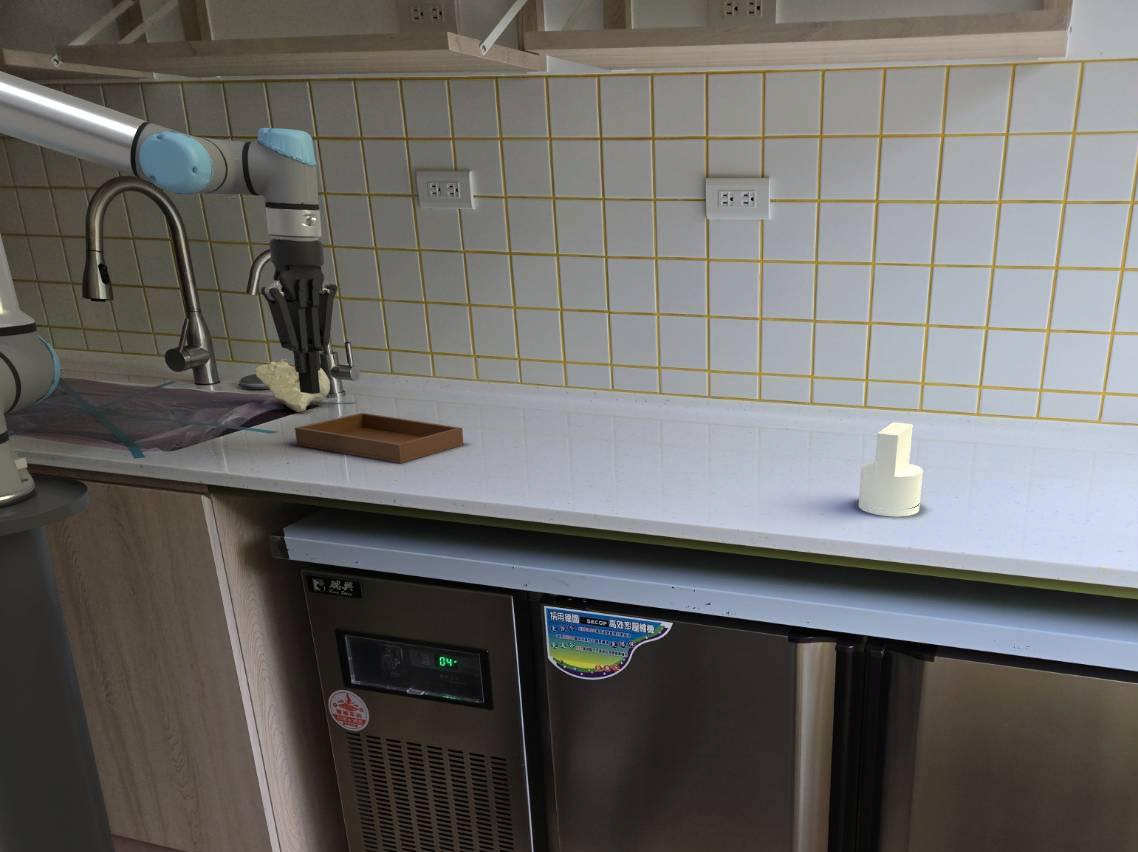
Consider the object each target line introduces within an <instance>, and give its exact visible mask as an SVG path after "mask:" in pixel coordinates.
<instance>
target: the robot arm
mask: <svg viewBox="0 0 1138 852" xmlns="http://www.w3.org/2000/svg"><path fill="white" fill-rule="evenodd" d="M0 134H3V135H6V136H9V137H12V138H14V139H15V138H16V139H18V140H22V141H24V142H28V143H31V144H34V145H37V146H40V147H42V148H46V149H49V150H52V151H55V152H58V153H61V154H64V155H68V156H71V157H74V158H77V159H80V160H82V161H83V160H84V161H86V162H89V163H92V164H95V165H98V166H101V167H105V168H108V169H110V170H111V169H112V170H114V171H116V172H120V173H123V174H126V175H129V176H132V177H135V178H139V179H141V180H143V181H146V182H149V183H152V184H154V185H155V186H156V187H158V188H159V189H161V190H164V191H166V192H170V193H174V194H177V195H192V194H203V195H209V194H210V195H211V194H213V195H216V194H217V195H218V194H219V195H242V196H244V195H245V196H246V195H247V196H248V195H249V196H256V197H257V196H258V197H259V196H263V198H264V207H265V215H266V226H267V235H269V236H272V239H270V241H269V242H268V245H269V254H270V261H271V264H272V265H273V266H274V273H273V278H272V279H273V281H272V283H270V284H269V286H262V287H261V289H260V292H261V294H262V296H263V297H264V299H265V300H266V302H267V305H268V307H269V310H270V314H271V317H272V320H273V324H274V326H275V329H276V334H277V337H278V340H279V344H280V346H281V348H282V349H287V350H288V351H290V352H292V353H293V360H294V361H293V362H294V367H295V370H296V372H298V373H299V383H300V392H303V393H309V394H316V393H320V386H319V375H318V371H320V368H321V356H320V352H321V353H322V352H324V351H325V347H328V346H329V345H330V340H331V330H332V319H333V309H334V301H335V297H336V295H337V292H338V285H337V284H333V283H329V281H327V280H326V279H325V274H324V272H323V271H322V266H324V264H325V254H324V244H323V242H322V241H320V240H319V238H321V237H322V236H323V234H322V223H321V221H322V220H321V211H320V204H319V189H318V188H319V187H318V174H317V172H318V171H317V170H318V169H317V167H318V163H317V162H316V155H315V148H314V141H313V137H312V136H311V134H309V133H308V132H306V131H304V130H299V129H291V128H290V129H289V128H276V127H275V128H274V127H261V128H259V129H258V131H257V138H256V141H255V140H253V141H241V140H230V139H229V140H228V139H217V138H210V137H203V136H195V135H190V134H186V133H183V132H181V131H177V130H174V129H171V128H168V127H166V126H163V125H160V124H156V123H153V122H150V121H147V120H145V119H141V118H138V117H135V116H132V115H130V114H127V113H123V112H120V111H118V110H115V109H112V108H110V107H107V106H103V105H100V104H97V103H95V102H91V101H89V100H86V99H83V98H80V97H77V96H74V95H71V94H68V93H65V92H63V91H61V90H57V89H54V88H50V87H48V86H45V85H42V84H39V83H36V82H33V81H30V80H28V79H25V78H21V77H19V76H16V75H12V74H9V73H8V72H4V71H1V70H0ZM12 277H13V276H12V272H11V270H10V266H9V261H8V257H7V254H6V249H5V246H4V241H3V237H2V234H1V233H0V509H1V508H5V507H9V506H13V505H16V504H19V503H22V502H25V501H27V500H29V499H31V498H33V497H34V496H35V495H36V488H35V483H34V480H33V479H32V477H31V475H32V474H30V473H29V471H28V469H27V468H28V463H27V458H26V457H22V458H20V456H19V455H18V454H17V452H16V451H15V449H14V448H13V446H12V444H11V439H10V436H9V435H10V434H9V431H8V427H7V423H6V417H5V416H7V415H9V414H12V413H15V412H18V411H23V410H26V409H29V408H32V407H34V406H36V405H38V404H39V403H40V402H42V401H43V400H45V399H47V398H49V396H50V395H52V393H53V392H54V391H55V389H56V388H57V387H58V384H59V382H60V378H61V363H60V359H59V357H58V354H57V352H56V350H55V349H54V347H53V346H52V344H50V343H49V342H47V341H45V339H44V338H43V337H42V336H41V335H39V332H38V329H37V324H36V321H35V319H34V318H33V317H31V316H30V315H28V314H27V313H26V312H24V311H22V310H21V308H20V305H19V301H18V300H19V299H18V297H17V293H16V289H15V284H14V281H13V278H12Z"/></svg>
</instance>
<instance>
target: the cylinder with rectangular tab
mask: <svg viewBox="0 0 1138 852" xmlns="http://www.w3.org/2000/svg"><path fill="white" fill-rule="evenodd" d="M913 427H914V425H913V424H912V423H907V422H896V421H895V422H894V421H893V422H891V423H890V424H889V425H886V426H885V427H884V428H883V429H881V430H880V431H878V432H877V436H876V448H875V460H874V461H869V462H865V463H862V465H861V467H860V481H859V492H858V493H859V495H858V508H859V509H860V510H861V511H864V512H865V513H869V514H872V515H877V516H882V517H897V518H898V517H907V516H913V515H916V514H918V513H919V511H920V504H921V495H922V494H921V493H922V484H923V475H924V474H923V473H924V470H923V469H922V468H921V467H920V466H918V465H915V464H912V463H910V458H911V448H912V438H913ZM919 503H920V504H919ZM918 504H919V506H917V505H918ZM867 505H868V506H867ZM870 506H871V507H870ZM915 506H917V507H915ZM874 507H876V508H874ZM912 507H915V508H912ZM879 508H883V509H879ZM906 508H912V509H906ZM887 509H906V510H887Z"/></svg>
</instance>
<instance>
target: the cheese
mask: <svg viewBox="0 0 1138 852" xmlns="http://www.w3.org/2000/svg"><path fill="white" fill-rule="evenodd" d="M287 360H288V359H287V358H283V359H280V361H273V360H271V361H270V362H269V363H267V364H262V365H259V366H257V367H255V369H254V372H255V376H256V377H257V378H258V379H259V380H260V381H261V382H262V383H263V385H264V386H265V387H267V388H268V389H269V390H270V391H271V393H272V395H273V396H274V397H275V399H276V400H277V401H278V402H280V403H281V404H283V405H285V406H286V407H287V408H288V409H290V410H292V411H294V412H297V413H301V412H305V411H306V410H307V407H309V406H317V405H321V404H323V403H324V400H325V399H326V397H327V396H328V395H329V393H330V390H331V381H330V379H329V377H328V375H327V374H326V372H325V371H324V369H323V368H321V367H320V371H318V375H319V386H320V393H316V394H309V393H303V392H300V383H299V373H298V372H296V370H295V366H291V365H289V363H288V362H287Z"/></svg>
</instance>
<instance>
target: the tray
mask: <svg viewBox="0 0 1138 852" xmlns="http://www.w3.org/2000/svg"><path fill="white" fill-rule="evenodd" d="M294 432H295V441H296V446H299V447H305V448H310V449H311V448H312V449H317V450H323V451H328V452H334V453H338V454H345V455H352V456H356V457H363V458H367V459H368V458H369V459H373V460H379V461H385V462H391V463H396V464H403V463H406V462H409V461H413V460H417V459H420V458H423V457H427V456H431V455H434V454H438V453H441V452H443V451H447V450H451V449H455V448H457V447H461V446H464V433H463V427H458V426H452V425H447V424H439V423H433V422H426V421H420V420H413V419H406V418H401V417H400V418H398V417H394V416H393V417H392V416H386V415H381V414H380V415H379V414H375V413H374V414H373V413H366V412H360V413H355V414H351V415H346V416H342V417H337V418H333V419H329V420H324V421H320V422H314V423H310V424H306V425H301V426H298V427H297V426H296V427H294Z"/></svg>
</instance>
